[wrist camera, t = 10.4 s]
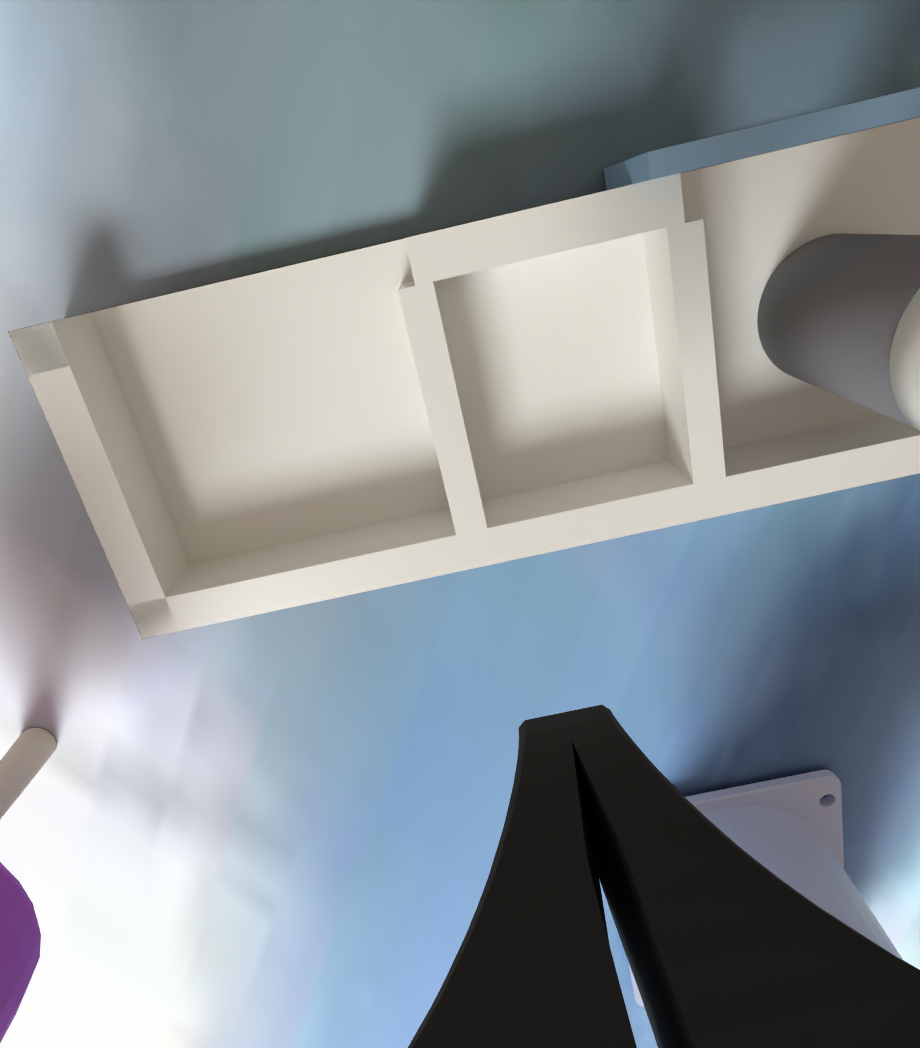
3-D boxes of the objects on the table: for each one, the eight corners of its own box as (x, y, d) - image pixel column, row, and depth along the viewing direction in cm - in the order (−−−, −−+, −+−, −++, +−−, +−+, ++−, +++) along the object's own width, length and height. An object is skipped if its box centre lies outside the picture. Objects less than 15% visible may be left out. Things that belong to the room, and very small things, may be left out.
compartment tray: (1000, 415, 20) (1123, 454, 17) (175, 593, 22) (122, 666, 18) (1020, 70, 17) (1176, 26, 14) (55, 298, 18) (-38, 314, 15)
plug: (898, 368, 19) (1135, 440, 13) (757, 394, 19) (921, 479, 13) (904, 217, 18) (1174, 212, 11) (753, 247, 18) (934, 259, 12)
